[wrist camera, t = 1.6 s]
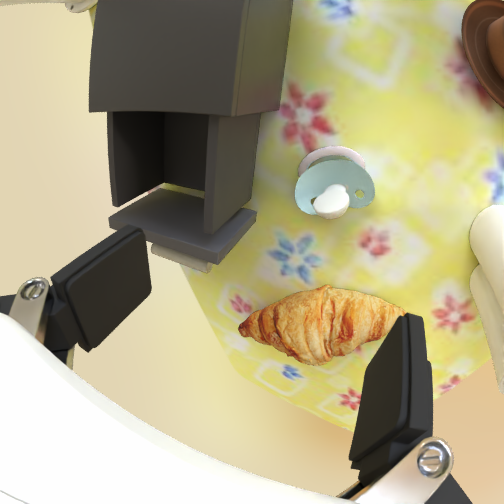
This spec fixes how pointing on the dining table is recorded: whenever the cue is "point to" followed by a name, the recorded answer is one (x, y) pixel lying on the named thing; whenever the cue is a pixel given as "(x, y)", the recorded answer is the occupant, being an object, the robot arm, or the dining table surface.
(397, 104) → the dining table surface
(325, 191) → the pacifier
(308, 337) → the croissant
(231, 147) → the drawer
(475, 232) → the vase
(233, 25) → the cabinet
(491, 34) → the cup and saucer
